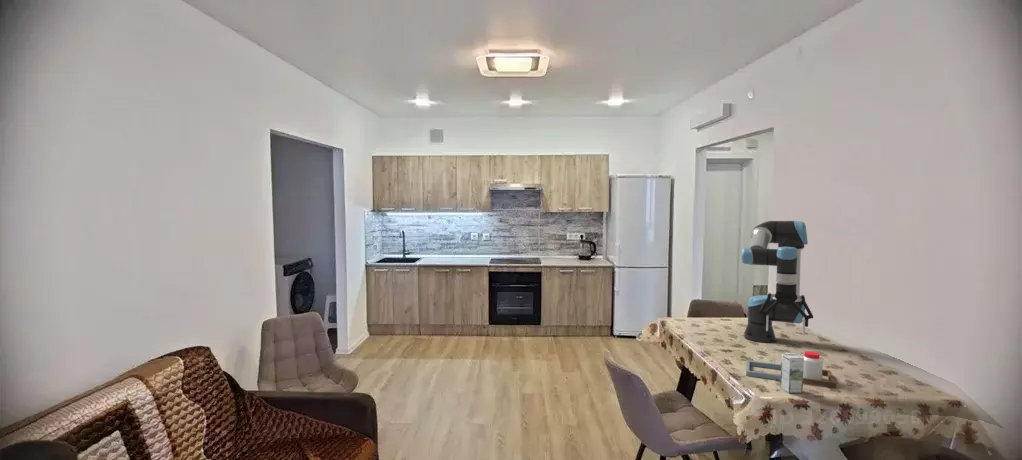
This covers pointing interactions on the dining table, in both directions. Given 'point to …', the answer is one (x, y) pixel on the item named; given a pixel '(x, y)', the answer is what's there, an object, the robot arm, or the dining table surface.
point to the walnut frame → (821, 382)
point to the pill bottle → (812, 365)
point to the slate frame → (761, 374)
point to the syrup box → (792, 372)
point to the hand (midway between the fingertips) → (785, 332)
